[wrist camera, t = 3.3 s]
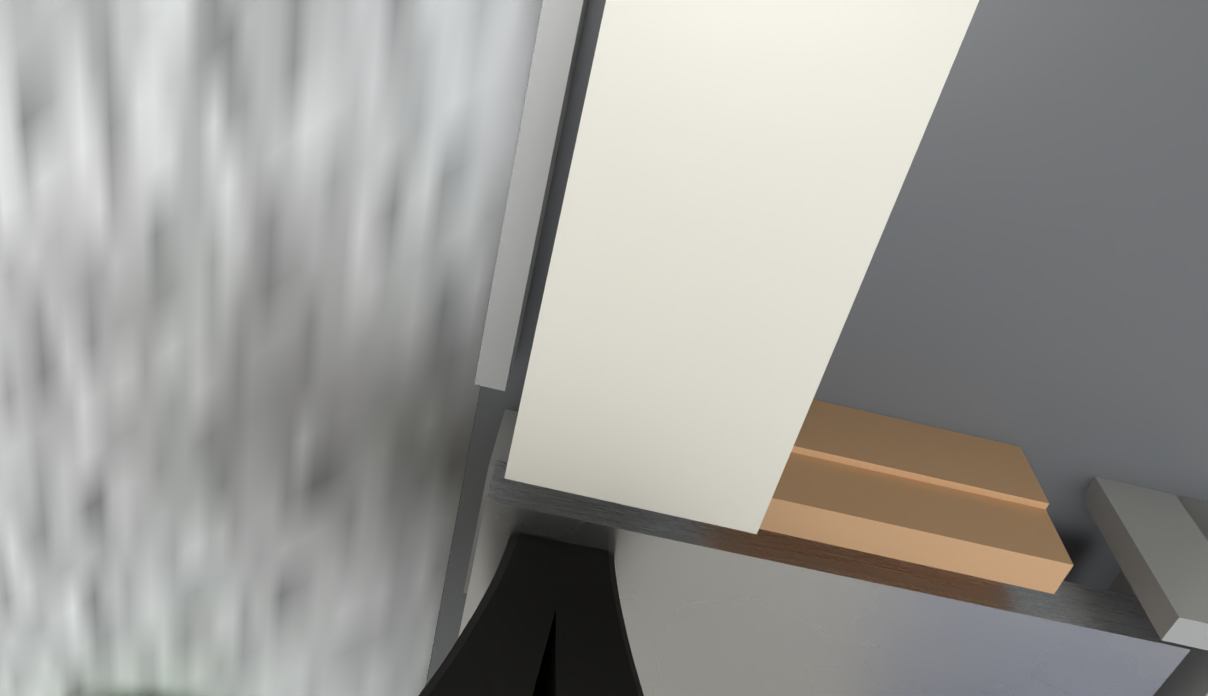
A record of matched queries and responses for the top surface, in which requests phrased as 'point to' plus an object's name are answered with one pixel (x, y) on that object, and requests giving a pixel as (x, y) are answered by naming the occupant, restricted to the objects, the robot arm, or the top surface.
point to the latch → (719, 239)
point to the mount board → (970, 319)
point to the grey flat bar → (827, 612)
